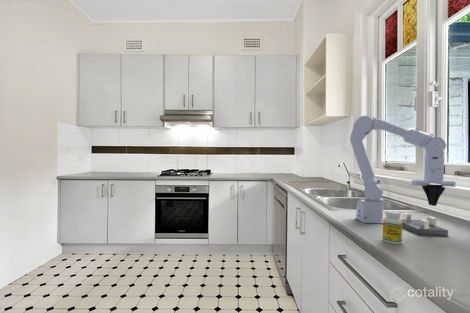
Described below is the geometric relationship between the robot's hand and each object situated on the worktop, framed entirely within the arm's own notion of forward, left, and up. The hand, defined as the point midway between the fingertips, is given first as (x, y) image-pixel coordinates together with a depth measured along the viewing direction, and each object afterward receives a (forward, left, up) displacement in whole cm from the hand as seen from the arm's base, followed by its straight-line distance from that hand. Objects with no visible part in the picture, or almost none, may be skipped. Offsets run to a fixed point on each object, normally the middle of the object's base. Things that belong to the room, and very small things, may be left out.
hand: (432, 205), depth 96 cm
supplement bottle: (-23, -15, -10) cm, 29 cm away
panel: (-4, 0, -10) cm, 10 cm away
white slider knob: (0, 0, -7) cm, 7 cm away
